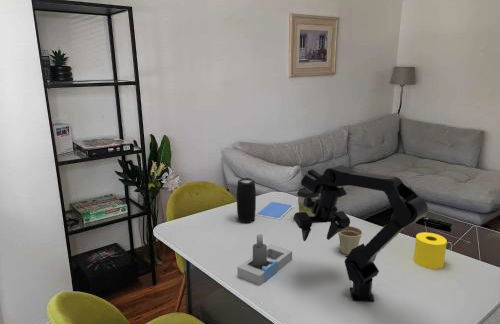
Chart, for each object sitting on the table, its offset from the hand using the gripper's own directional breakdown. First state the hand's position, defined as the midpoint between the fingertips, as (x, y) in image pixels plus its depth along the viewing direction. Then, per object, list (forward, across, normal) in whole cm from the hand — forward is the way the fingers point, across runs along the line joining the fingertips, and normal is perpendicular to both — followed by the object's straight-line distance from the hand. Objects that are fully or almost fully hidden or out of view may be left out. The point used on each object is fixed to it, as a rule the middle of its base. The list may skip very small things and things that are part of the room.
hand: (315, 239), depth 129 cm
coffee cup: (+20, -19, -37) cm, 46 cm away
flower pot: (+12, -21, -6) cm, 25 cm away
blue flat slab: (+26, -10, -52) cm, 59 cm away
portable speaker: (+25, +7, -46) cm, 53 cm away
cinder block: (+15, +14, -4) cm, 21 cm away
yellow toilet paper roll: (+6, -44, +9) cm, 45 cm away
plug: (+15, +17, -2) cm, 23 cm away
